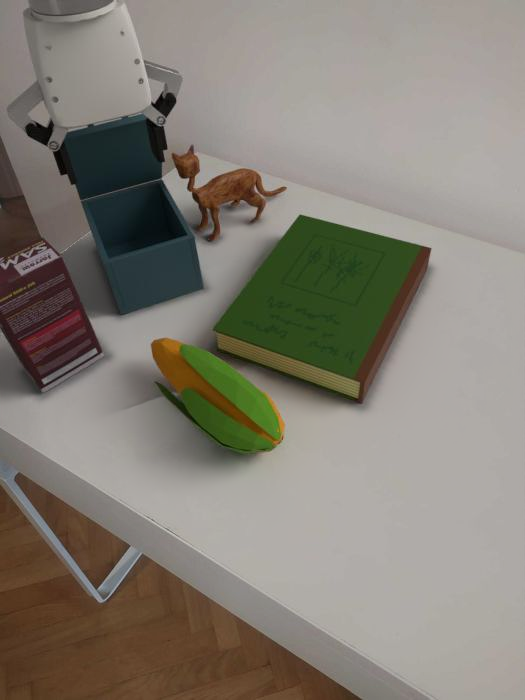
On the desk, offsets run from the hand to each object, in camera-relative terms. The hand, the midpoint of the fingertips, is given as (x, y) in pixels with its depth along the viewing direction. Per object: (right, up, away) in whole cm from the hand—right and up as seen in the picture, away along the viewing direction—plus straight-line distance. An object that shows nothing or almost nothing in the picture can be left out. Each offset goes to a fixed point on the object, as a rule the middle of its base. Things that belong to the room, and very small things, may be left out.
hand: (116, 167), depth 63 cm
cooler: (0, -9, +18) cm, 20 cm away
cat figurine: (+13, 0, +25) cm, 28 cm away
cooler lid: (-2, +3, +8) cm, 9 cm away
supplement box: (-8, -22, +7) cm, 24 cm away
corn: (+10, -27, +1) cm, 29 cm away
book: (+24, -14, +11) cm, 30 cm away
